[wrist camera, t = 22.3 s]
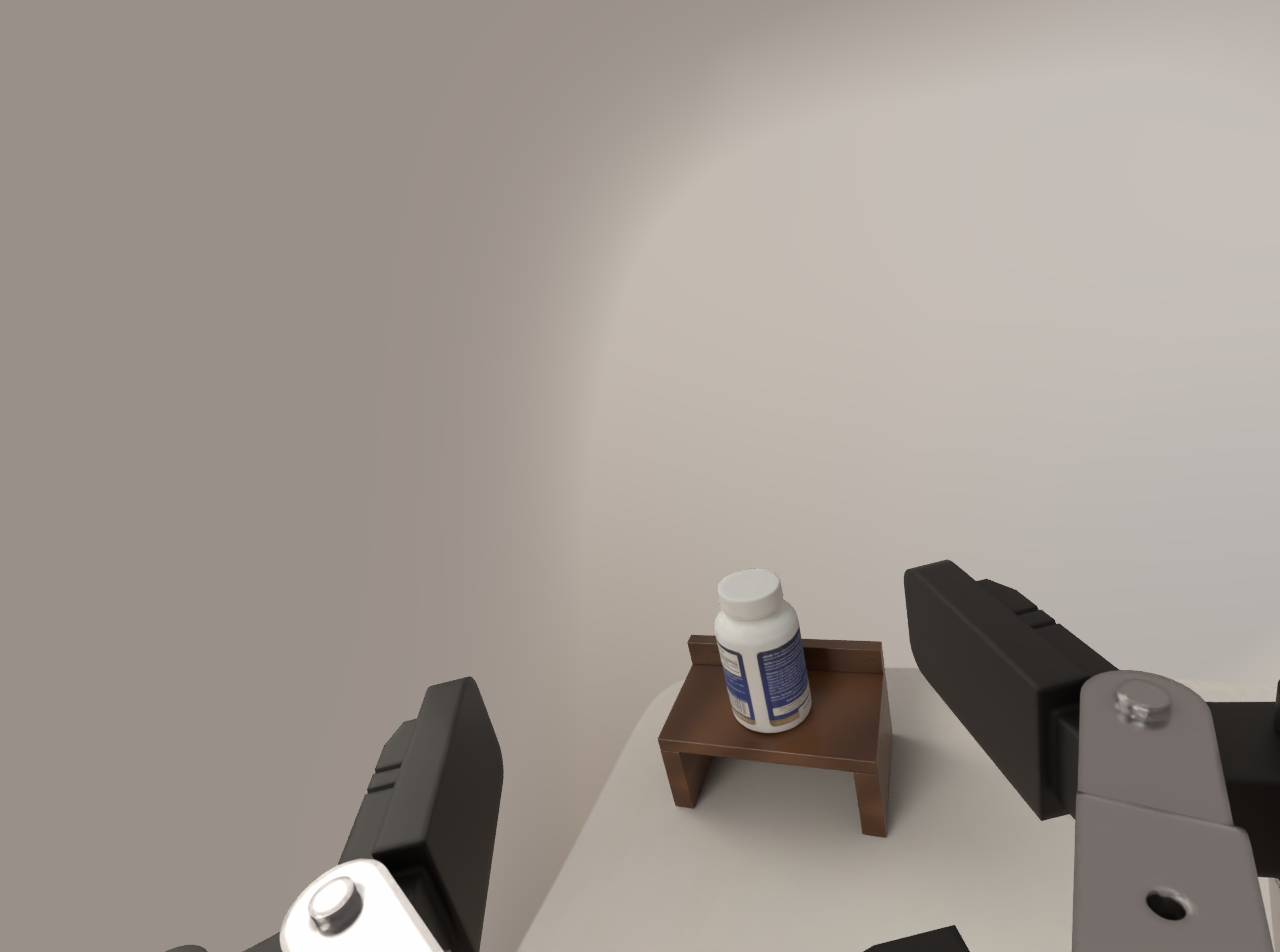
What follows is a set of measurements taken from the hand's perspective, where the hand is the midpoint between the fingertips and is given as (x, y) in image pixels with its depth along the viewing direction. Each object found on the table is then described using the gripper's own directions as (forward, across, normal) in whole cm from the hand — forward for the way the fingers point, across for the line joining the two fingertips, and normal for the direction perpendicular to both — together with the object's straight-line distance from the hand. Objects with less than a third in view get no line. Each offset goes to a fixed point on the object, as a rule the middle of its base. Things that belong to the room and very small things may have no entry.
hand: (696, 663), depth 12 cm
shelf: (+27, -5, +30) cm, 41 cm away
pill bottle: (+27, -5, +24) cm, 36 cm away
